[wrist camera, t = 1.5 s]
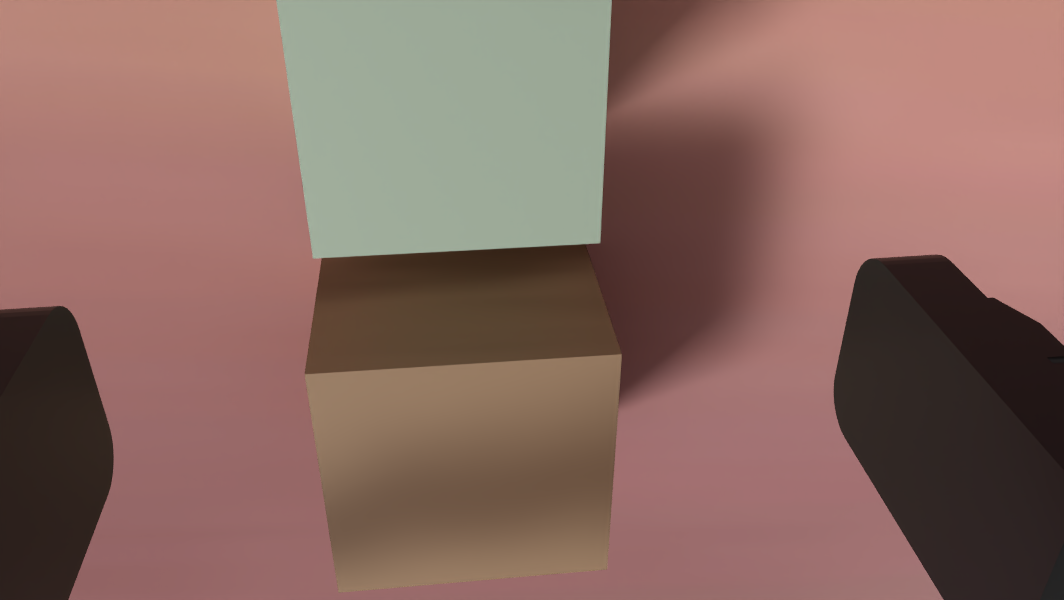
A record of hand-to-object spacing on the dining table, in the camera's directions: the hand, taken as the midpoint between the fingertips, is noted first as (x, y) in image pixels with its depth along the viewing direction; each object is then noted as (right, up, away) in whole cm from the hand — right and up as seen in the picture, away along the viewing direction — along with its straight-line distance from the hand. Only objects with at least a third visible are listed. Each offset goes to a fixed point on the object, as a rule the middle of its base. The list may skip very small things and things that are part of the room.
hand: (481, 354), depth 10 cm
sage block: (-1, +6, +9) cm, 11 cm away
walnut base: (-1, 0, +14) cm, 14 cm away
